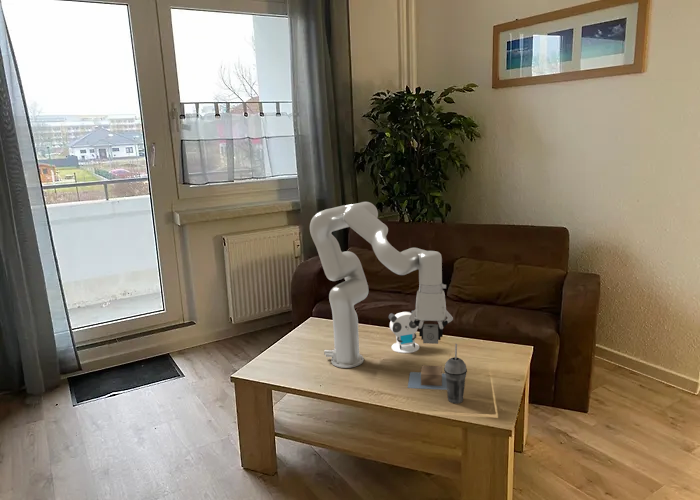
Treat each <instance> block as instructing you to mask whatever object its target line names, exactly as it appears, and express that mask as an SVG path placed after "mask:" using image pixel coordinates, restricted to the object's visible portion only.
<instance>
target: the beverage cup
mask: <svg viewBox="0 0 700 500" xmlns="http://www.w3.org/2000/svg"><path fill="white" fill-rule="evenodd" d="M454 347H455V348H454V357H450V358H449V359H448V360H447V361H445V364H444V369H443V370H444V373H445V376H446V384H447V390H446V392H447V394H446V395H447V401H448V402H450V403H451V404H457V405H458V404H461V403H463V401H464V395H465V385H466V377H467V373H468V370H467V365H466V363H465V362H464V360H463V359H462V358H460V357H458V344H457V343H455V346H454Z"/></svg>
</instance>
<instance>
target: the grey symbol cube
mask: <svg viewBox="0 0 700 500" xmlns="http://www.w3.org/2000/svg"><path fill="white" fill-rule="evenodd" d="M438 327H439V324H437V323H434V324H433V323H423V340H422V343H423V344H430V345H431V344H434V345H438V344H439V340H438Z"/></svg>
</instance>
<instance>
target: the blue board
mask: <svg viewBox="0 0 700 500" xmlns="http://www.w3.org/2000/svg"><path fill="white" fill-rule="evenodd" d="M407 388H408V389H421V390H422V389H424V390H425V389H426V390H443V391H444V390H446V391H447V384H446V376H445V372H444V373H443V372H442V386H433V385H421V371H420V372H416V371H410V372H409V377H408V383H407Z"/></svg>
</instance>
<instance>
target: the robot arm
mask: <svg viewBox="0 0 700 500" xmlns="http://www.w3.org/2000/svg"><path fill="white" fill-rule="evenodd" d="M378 217H379V211H378V209H377V206H375V205H374V204H373V203H372V202H369V201H361V202H358V203H353V204H352V203H351V204H346V205H345V204H343V205H340V206H335V207H332V208H326V209H324V210H323V209H322V210H320V211H318V212H316V213H315V215H313V216H312V218H311V220H310V223H309V232H310V233H309V234H310V236H311V238H312V241H313V243H314V245H315V247H316V251H317V253H318V256H319V259H320V263H321V266H322V269H323V272H324V275H325V276H326V278H327V279H328V280H329V281H332V282H336V281H339V280H342V279H344V280H345V281H342V282H340V283H338V284H336V285H335V286H333V287H332V288H331V289H330V291H329V294H328V299H329V303H330V308H331V314H332V315H331V316H332V326H333V342H334V343H333V345H334V349H332V350H331V349H324V351H323V353H324V356H325V358H330V359H331V360H330V361H331V364H332V365H333V366H335V367H337V368H342V369H352V368H355V367H358V366H360V365H362V364H363V363H364V360H365V359H364V356H363V354H361V353H360V339H359V336H360V335H359V319H358V314H357V312H356V310H355V305H356V304H358V303H361V301H364V300H365V299H366V298H367V297H368V294H369V292H370V291H369V285H368V284H369V283H368V282H367V278H366V275H365V272H364V269H363V266H362V263H361V261H360V259H359V257H358V256H357V254H356V253H354V252H352V251H349V250H348V251H347V250H346V251H342V250H341V246H340V243H339V241H338V240H337V238H336V237H335V236H334V235H333V234H332V232H335V231H339V230H342V229H346V228H350V229H351V230H353V231H354V232H356V233H357V234H358V235H359V236H360V237H362V238H363V239H364V240H365V241H366V242H368V243H369V244H370V245H371V248H372V251H373V252H374V254H375V256H376V258H377V259H378V261H379V262H380V263H381V264H382V265H383V266H385V268H386V269H388V270H390V271H391V272H392V273H394V274H396V275H399V276H405V275H407V274H410V273H412V272H414V271H417V270H418V282H419V283H418V284H419V285H418V286H419V287H418V290H417V291H416V298H415V309H414V312H413V313H412V314H411V315H410V316H409V319H410V320H411V321H412V322H414V323H415V324H416V325H417V326H418V329H419V331H418V332H419V335H418V336H419V337H421V340H422V341H423V326H424V322H437V323H438V341H441V338H443V332H444V331H443V329H444V328H445V327H446V326H447V325H448V324H449V323H451V322H452V321H453V320H454V317H453V316H452V314H451V313H450V312H449V311H448V310H447V305H446V304H447V301H446V295H445V290H444V289H447V284H444V283H443V271H442V270H443V268H442V266H443V264H442V263H443V258H442V254H441V253H440V252H439V251H435V250H425V249H421V248H418V247H410V248H408V249H404V250H402V251H399V250H397V249H396V248H395V247H394V246H392V244H391V243H390V242H389V241H388V239H387V235H388V232H389V228H388V226H387V225H386V224H385V223H383V222H382V221H381V220H380V219H379V218H378ZM415 316H416V318H415Z"/></svg>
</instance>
